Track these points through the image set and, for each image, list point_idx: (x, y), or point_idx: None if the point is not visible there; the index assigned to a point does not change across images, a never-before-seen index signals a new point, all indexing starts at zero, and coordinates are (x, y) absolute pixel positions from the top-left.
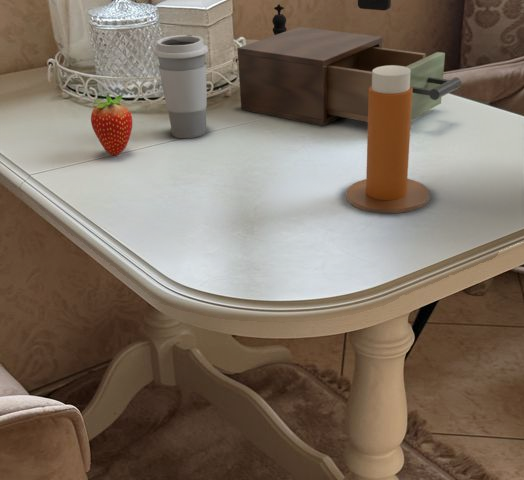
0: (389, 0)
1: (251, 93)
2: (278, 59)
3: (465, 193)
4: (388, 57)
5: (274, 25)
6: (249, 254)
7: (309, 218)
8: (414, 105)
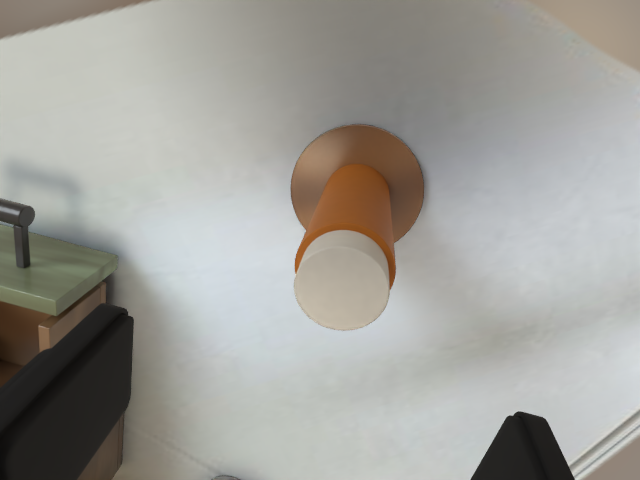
0: (544, 435)
1: (107, 472)
2: None
3: (301, 71)
4: None
5: None
6: (599, 310)
7: (465, 274)
8: (29, 245)
